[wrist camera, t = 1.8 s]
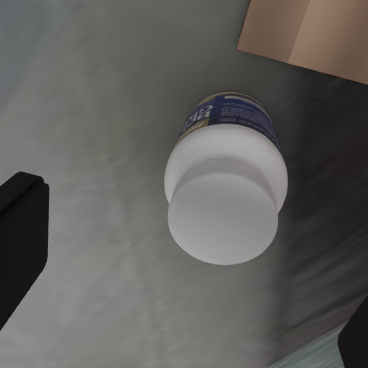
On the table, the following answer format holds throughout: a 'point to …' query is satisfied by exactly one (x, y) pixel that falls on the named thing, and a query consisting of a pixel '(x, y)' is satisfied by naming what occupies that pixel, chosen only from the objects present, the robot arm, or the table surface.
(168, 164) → the pill bottle
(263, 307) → the table surface
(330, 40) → the pin board
